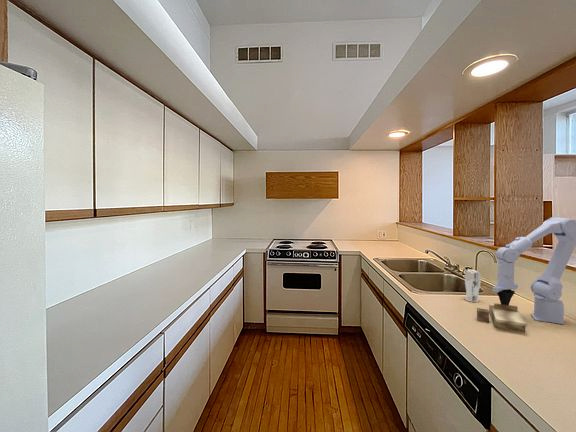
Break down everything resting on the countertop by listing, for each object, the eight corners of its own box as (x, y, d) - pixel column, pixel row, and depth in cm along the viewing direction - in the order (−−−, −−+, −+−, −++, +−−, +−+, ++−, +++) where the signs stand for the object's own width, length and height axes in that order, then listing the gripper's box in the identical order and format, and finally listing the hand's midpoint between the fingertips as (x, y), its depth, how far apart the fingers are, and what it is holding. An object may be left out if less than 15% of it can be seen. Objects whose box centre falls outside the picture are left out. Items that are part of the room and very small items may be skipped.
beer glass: (464, 301, 154) (465, 272, 154) (463, 297, 161) (464, 269, 160) (480, 303, 151) (481, 273, 150) (479, 299, 157) (480, 270, 157)
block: (487, 319, 131) (488, 309, 131) (488, 323, 127) (489, 312, 127) (476, 318, 133) (477, 307, 132) (477, 321, 129) (477, 310, 129)
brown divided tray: (515, 314, 136) (516, 308, 136) (525, 331, 118) (525, 324, 118) (489, 311, 141) (489, 304, 141) (494, 326, 123) (494, 319, 123)
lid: (518, 313, 129) (519, 306, 129) (526, 326, 116) (526, 318, 116) (491, 309, 134) (491, 302, 133) (496, 321, 120) (496, 314, 120)
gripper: (505, 279, 125) (504, 312, 126) (525, 275, 131) (524, 306, 132) (487, 275, 131) (486, 306, 132) (508, 272, 138) (507, 301, 138)
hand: (504, 306), depth 132 cm, fingers closed
